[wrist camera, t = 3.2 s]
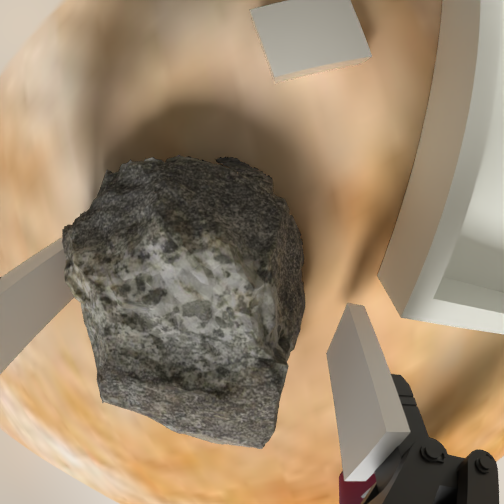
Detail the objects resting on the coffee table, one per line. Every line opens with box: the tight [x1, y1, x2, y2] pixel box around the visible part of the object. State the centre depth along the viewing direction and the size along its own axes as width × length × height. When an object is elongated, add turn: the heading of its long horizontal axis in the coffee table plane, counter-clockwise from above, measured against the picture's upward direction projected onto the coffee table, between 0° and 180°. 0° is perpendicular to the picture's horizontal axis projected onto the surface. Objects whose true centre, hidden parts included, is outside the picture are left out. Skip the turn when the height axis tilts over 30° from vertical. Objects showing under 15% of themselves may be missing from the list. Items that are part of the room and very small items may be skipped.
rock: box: [62, 156, 305, 449], centre depth 12 cm, size 13×9×6 cm, turn 18°
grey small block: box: [250, 0, 372, 84], centre depth 10 cm, size 4×3×2 cm
